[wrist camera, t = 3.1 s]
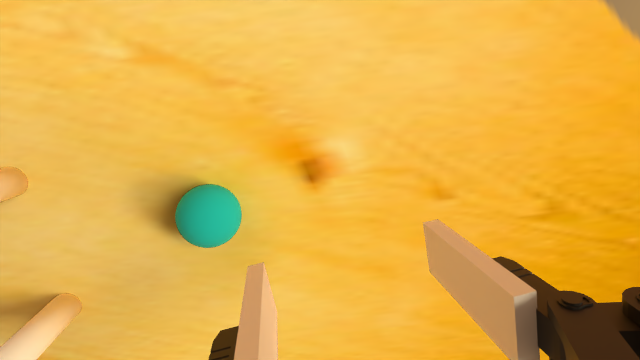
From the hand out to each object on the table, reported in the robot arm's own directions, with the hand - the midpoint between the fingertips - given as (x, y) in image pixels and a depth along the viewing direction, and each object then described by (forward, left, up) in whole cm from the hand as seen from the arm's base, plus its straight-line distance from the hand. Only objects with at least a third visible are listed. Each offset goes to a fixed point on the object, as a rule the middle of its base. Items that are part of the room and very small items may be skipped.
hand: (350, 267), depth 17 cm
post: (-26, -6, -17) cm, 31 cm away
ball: (-10, 0, -15) cm, 17 cm away
